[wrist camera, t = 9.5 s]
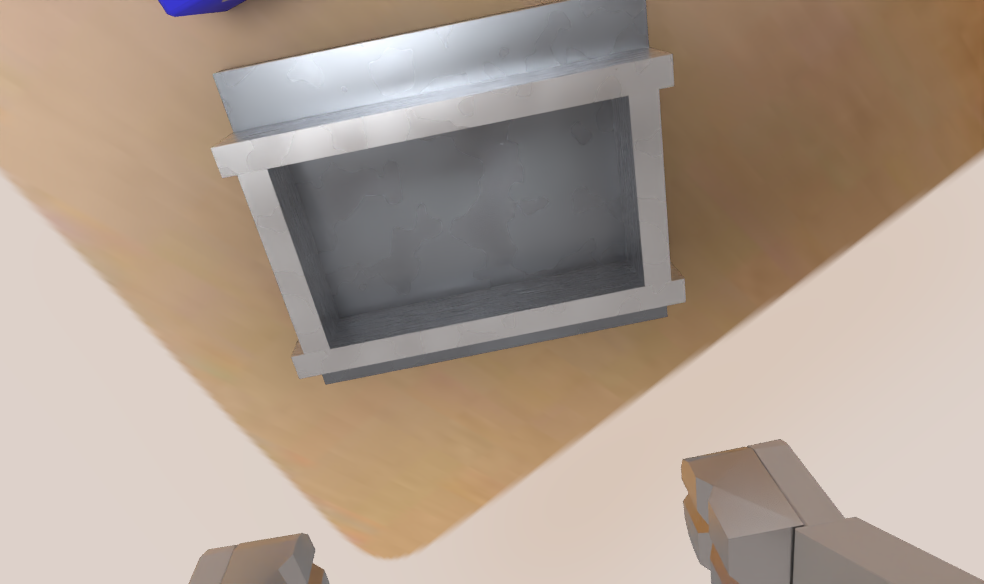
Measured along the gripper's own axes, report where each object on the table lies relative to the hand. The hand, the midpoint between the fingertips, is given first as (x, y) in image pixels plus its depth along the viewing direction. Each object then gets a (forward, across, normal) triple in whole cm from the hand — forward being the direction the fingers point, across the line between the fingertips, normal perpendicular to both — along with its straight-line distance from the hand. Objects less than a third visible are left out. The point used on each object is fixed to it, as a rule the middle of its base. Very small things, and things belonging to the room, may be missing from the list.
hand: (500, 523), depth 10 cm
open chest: (+17, 0, 0) cm, 17 cm away
